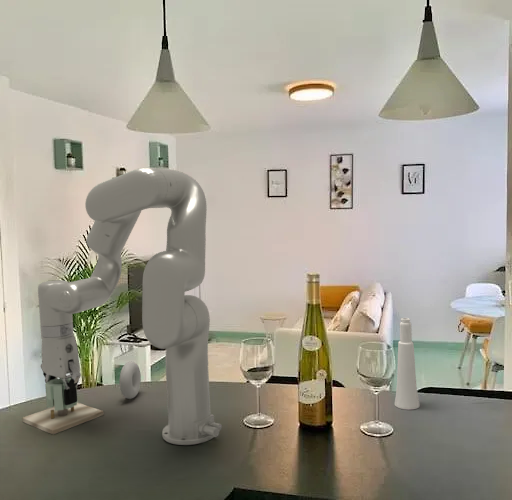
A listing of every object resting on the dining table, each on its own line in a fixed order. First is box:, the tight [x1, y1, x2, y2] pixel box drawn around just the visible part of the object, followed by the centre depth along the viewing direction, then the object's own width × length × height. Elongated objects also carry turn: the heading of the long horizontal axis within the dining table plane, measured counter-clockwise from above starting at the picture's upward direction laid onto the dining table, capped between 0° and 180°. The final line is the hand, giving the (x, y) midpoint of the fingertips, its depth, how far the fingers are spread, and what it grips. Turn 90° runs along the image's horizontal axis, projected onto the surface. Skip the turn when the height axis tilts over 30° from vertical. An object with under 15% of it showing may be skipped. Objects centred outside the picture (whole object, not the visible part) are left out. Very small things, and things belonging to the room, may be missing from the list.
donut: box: [119, 361, 142, 400], centre depth 146 cm, size 10×4×10 cm, turn 172°
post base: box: [21, 402, 104, 435], centre depth 134 cm, size 14×14×6 cm
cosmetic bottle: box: [394, 317, 421, 411], centre depth 132 cm, size 6×6×22 cm
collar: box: [44, 378, 79, 411], centre depth 133 cm, size 7×7×6 cm
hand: (62, 400), depth 133 cm, fingers closed on collar, 7 cm apart
